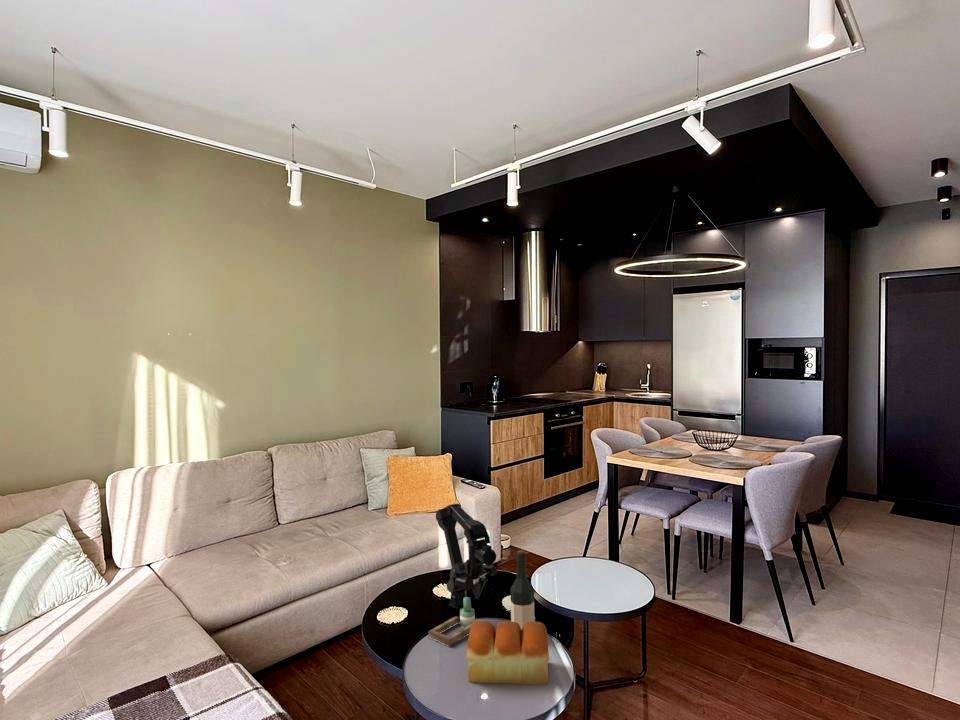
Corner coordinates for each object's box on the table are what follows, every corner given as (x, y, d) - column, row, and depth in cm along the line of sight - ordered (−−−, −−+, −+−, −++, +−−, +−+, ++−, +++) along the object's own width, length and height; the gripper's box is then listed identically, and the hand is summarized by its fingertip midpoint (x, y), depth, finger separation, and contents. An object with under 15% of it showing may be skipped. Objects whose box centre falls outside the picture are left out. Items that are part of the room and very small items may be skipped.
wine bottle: (534, 630, 190) (532, 547, 191) (535, 642, 182) (532, 555, 183) (511, 630, 191) (509, 547, 192) (511, 641, 183) (508, 555, 184)
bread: (547, 662, 170) (546, 616, 170) (549, 685, 157) (548, 635, 158) (471, 660, 172) (470, 614, 172) (467, 683, 160) (465, 633, 160)
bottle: (466, 620, 199) (466, 594, 199) (477, 624, 196) (477, 597, 196) (457, 626, 195) (456, 599, 195) (468, 630, 192) (467, 603, 192)
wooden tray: (455, 622, 198) (455, 616, 198) (476, 630, 191) (476, 623, 191) (428, 638, 187) (428, 631, 187) (449, 647, 180) (449, 639, 180)
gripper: (475, 546, 213) (476, 585, 212) (444, 559, 198) (444, 601, 198) (497, 552, 206) (498, 592, 205) (466, 566, 191) (467, 609, 191)
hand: (477, 598), depth 200 cm, fingers closed
